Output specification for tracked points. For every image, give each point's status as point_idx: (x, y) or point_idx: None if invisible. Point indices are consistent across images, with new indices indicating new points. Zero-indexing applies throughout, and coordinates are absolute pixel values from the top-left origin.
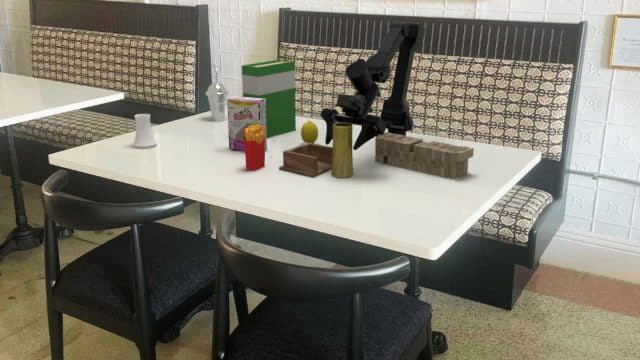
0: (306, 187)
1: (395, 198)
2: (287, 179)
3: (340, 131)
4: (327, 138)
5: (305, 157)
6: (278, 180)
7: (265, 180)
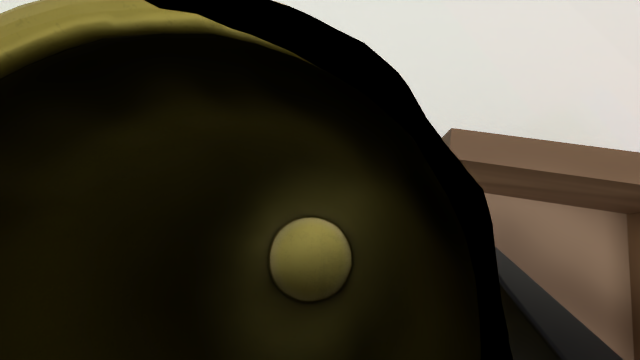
0: (373, 31)
1: None
2: (506, 76)
3: (177, 94)
4: (502, 276)
5: (537, 143)
6: (532, 48)
7: (581, 23)
